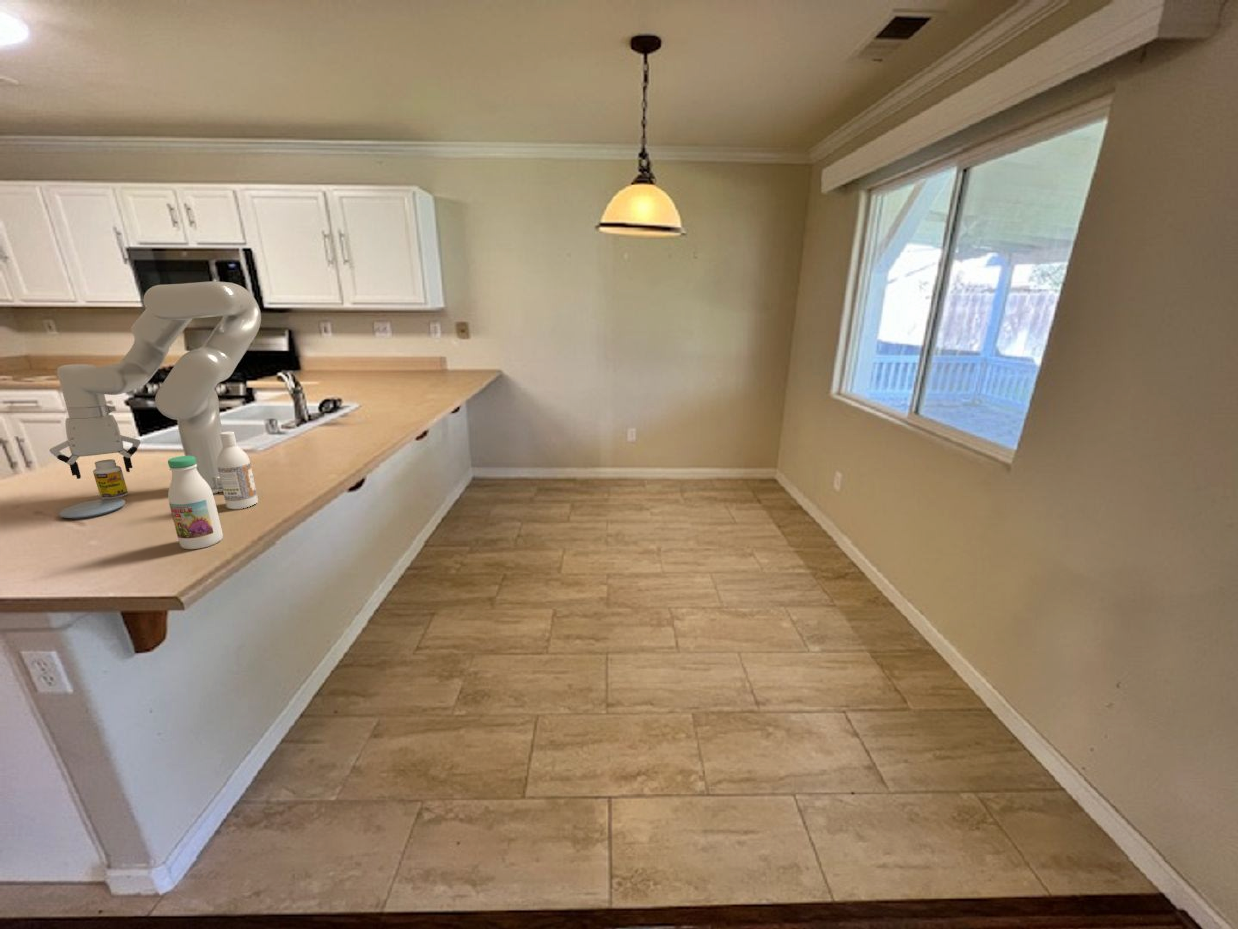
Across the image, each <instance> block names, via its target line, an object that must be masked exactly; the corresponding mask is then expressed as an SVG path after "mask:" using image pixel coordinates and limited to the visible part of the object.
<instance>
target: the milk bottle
mask: <svg viewBox="0 0 1238 929" xmlns="http://www.w3.org/2000/svg"><path fill="white" fill-rule="evenodd" d="M167 465H168V467H169V470H170V471H171V482H170V484H169V487H168V492H167V497H168V498H167V499H168V504H169V508H170V512H171V516H172V520H173V525H174V528H175V532H176V536H177V538H178V543H179V546H180V548H182V549H185V550H198V549H203V548H206V547H211V546H213V545H216V544H217V543H220V542H221V541H222V540H223V537H224V534H223V530H222V526H221V521H220V517H219V513H218V512H219V511H218V509H217V504H216V501H215V497H214V494H213V493H212V490H211V488H210V486H209V485H208V483H207V482H206V481H205V480H204V479H203V478H202V477H201V476H200V474H199V473H198V471H197V469H196V466H197V465H196V459H195V457H194V456H185V455H181V456H175V457H172V458H170V459H168V460H167ZM220 540H221V541H220ZM219 541H220V542H219Z"/></svg>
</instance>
